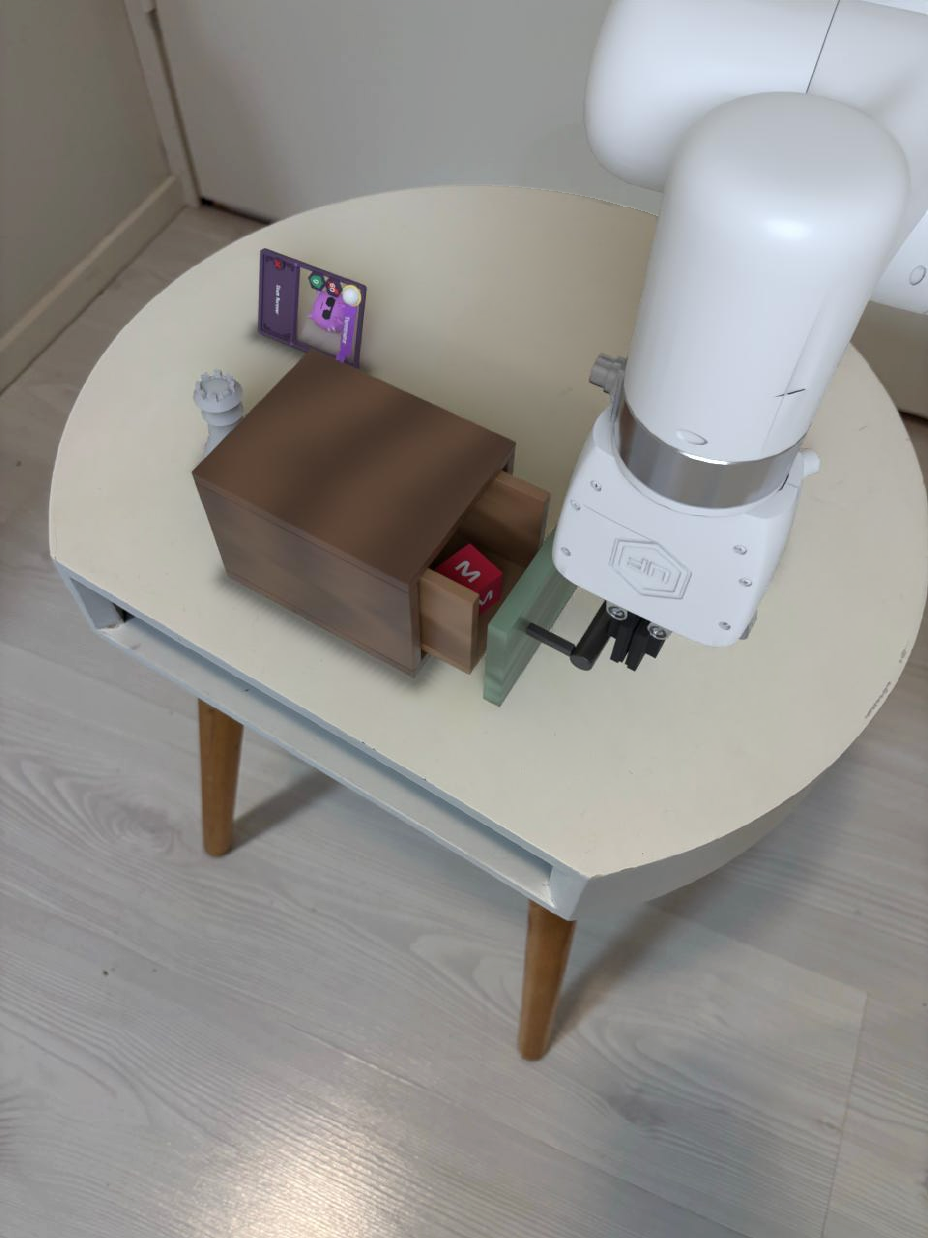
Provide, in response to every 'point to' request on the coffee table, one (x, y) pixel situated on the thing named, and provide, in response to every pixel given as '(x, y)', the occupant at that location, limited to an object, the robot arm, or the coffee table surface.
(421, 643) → the drawer
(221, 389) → the rook chess piece
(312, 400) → the cabinet
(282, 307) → the game card
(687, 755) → the coffee table surface
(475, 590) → the red letter cube
